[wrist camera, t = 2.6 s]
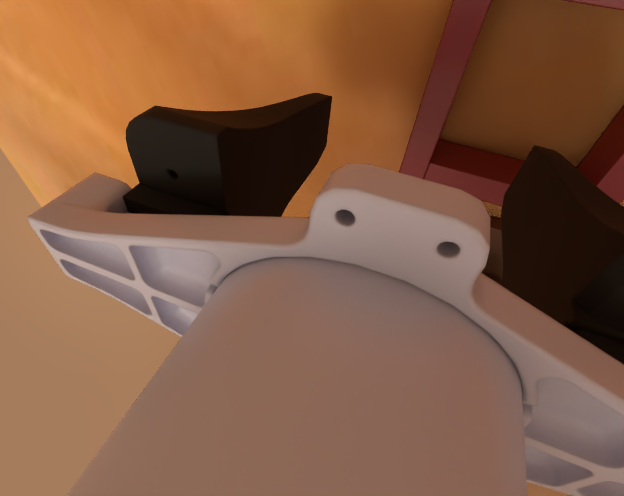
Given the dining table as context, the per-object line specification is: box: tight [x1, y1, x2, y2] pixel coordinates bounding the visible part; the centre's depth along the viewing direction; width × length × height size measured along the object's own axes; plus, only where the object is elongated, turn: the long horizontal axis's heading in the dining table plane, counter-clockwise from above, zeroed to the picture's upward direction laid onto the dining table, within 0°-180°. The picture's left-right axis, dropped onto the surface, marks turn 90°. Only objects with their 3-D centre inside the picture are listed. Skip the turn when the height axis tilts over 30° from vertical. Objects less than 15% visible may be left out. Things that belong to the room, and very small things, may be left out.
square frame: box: [399, 0, 624, 206], centre depth 16 cm, size 10×10×3 cm
